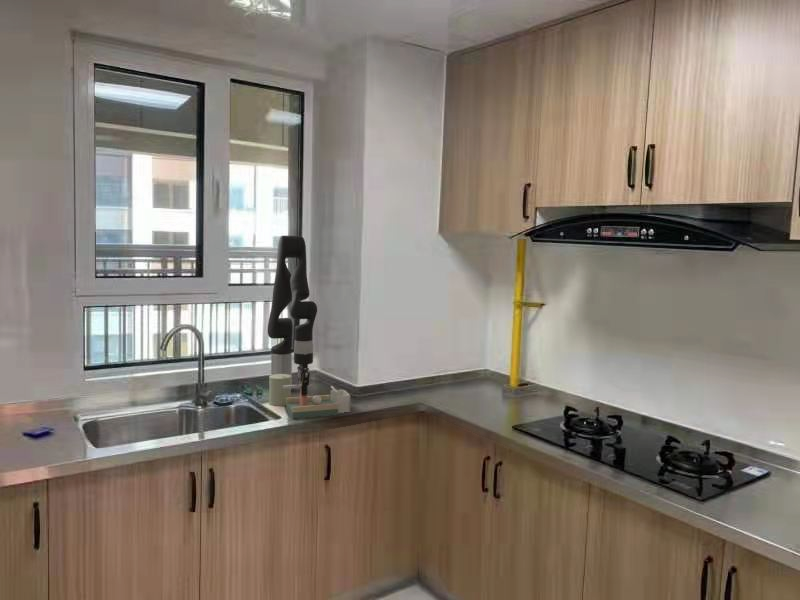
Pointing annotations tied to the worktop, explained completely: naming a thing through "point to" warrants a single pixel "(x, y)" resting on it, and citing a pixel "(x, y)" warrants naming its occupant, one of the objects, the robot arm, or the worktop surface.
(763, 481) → the worktop surface
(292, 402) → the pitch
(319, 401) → the ball
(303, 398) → the kicker
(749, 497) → the worktop surface
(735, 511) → the worktop surface
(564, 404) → the worktop surface
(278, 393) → the can
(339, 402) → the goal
